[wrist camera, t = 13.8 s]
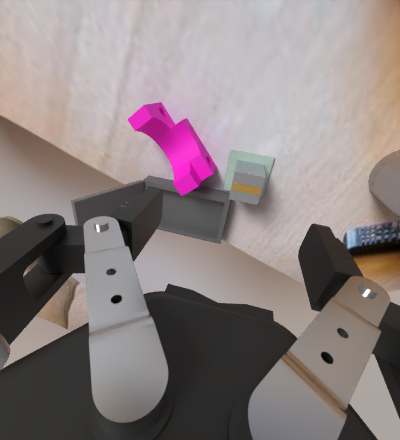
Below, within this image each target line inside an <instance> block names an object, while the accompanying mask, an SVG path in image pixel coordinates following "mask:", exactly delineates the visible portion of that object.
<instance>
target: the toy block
mask: <svg viewBox="0 0 400 440" xmlns="http://www.w3.org/2000/svg"><path fill="white" fill-rule="evenodd" d="M128 121H129V123H130V124H131V125H132V127H133V128H134V130H135V131H140V132H143V133H145V134H147V135H148V136H150V137H151V138H152V139H153V140H154V141H155V142H156V143H157V144H158V145H159V146H160V147H161V148H162V150H163V151H164V152H165V154H166V155H167V157H168V159H169V161H170V163H171V166H172V168H173V172H174V182H173V185H174V186H175V188H176V189H177V190H178V192H179V193H180V195H181V196H183V195H184V194H186V193H188V192H190V191H192V190H193V189H195V188H197V187H198V186H199V185H200V183H201V181H202V180H204V179H205V178H207V177H209V176H211V175H212V174H213V173H214V171H215V169H216V165H215V163H214V162H213V160H212V158H211V157H210V155H209V154H208V152H207V150H206V149H205V147H204V145H203V144H202V142H201V141H200V139H199V137H198V136H197V134H196V132H195V131H194V129H193V127H192V126H191V124H190V123H189V121H188V119H187V118H186V119H184V120H182V121H180V122H179V123H178V124H176V125H175V123H174V122H173V120H172V119H171V117H170V116H169V114H168V112H167V111H166V109H165V108H164V106H163V105H162V103H161V102H160V103H154V104H148V105H144V106H142V107H141V108H140V109H139V110H138V111H137V112H136V113H134V114H133V115H132V116H131V117H130V118H129V119H128Z"/></svg>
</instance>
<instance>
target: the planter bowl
mask: <svg viewBox="0 0 400 440" xmlns="http://www.w3.org/2000/svg"><path fill="white" fill-rule="evenodd" d="M21 224H23V223H22V222H21V221H19V220H18V219H16V218H13V217H3V218H0V238H1V237H3V236H4V235H6V234H7V233H9V232H10V231H12V230H13V229H15V228H17V227H18V226H20V225H21Z"/></svg>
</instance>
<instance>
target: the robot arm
mask: <svg viewBox="0 0 400 440" xmlns="http://www.w3.org/2000/svg"><path fill="white" fill-rule="evenodd" d="M368 182H369V188H370V191H371V192H372V193H373V194H374V195H375V196H376V197H377V198H378V199H379V200H380V201H381V202H382V203H384V204H385V205H386V206H387V207H388V208H389V209H390V210H391V211H392V212H394V213H395V214H396V215H397V216H398V217H399V218H400V150H398V151H395V152H393V153H391V154H389V155H387V156H386V157H384V158H383V159H381V160H380V161H379V162H378V163H377V164H376V165H375V167H374V168H373V170H372V171H371V173H370V176H369V181H368ZM162 206H163V191H162V190H159V189H154V188H150V187H149V188H147V189H146V190H145V191H144V192H143V193H142V194H136V195H134V196H131V197H129V198H128V199H127V200H126V201H125V202H124V203H122V204H121V206H119V207H118V208H117V209H116V210H114V211H113V212H112V213H111V214H110V215H109V216H108V217H107V216H100V217H95V218H92V219H90V220H88V221H87V222H85V224H84V226H72V225H65V220H64V218H63V217H62V216H60V215H57V214H43V215H38V216H35V217H33V218H31V219H29V220H28V221H26V222H24V223H23V224H21V225H20V226H18V227H17V228H15V229H13V230H12V231H10V232H9V233H7V234H6V235H4V236H3V237H1V238H0V440H377V438H376V437H375V436H374V434H373V433H372V432H371V430H369V428H368V427H367V425H366V424H365V423H364V422H363V420H362V419H361V418H360V416H359V415H358V414H357V413H356V411H355V410H354V409H353V408H352V406H351V405H350V404H349V402H350V400H351V397H352V395H353V393H354V391H355V389H356V386H357V384H358V382H359V380H360V377H361V375H362V373H363V371H364V369H365V367H366V364H367V362H368V360H369V358H370V355H371V353H372V354H374V355H375V357H376V360H377V362H378V365H379V367H380V370H381V372H382V375H383V377H384V380H385V383H386V385H387V388H388V390H389V393H390V395H391V398H392V400H393V403H394V405H395V408H396V410H397V413H398V416H399V418H400V306H399V305H397V304H394V303H392V302H390V297H389V295H388V293H387V292H386V291H385V290H384V289H383V288H382V287H381V286H379V285H378V284H377V283H375V282H373V281H372V280H370V279H367V278H365V277H364V276H363V275H362V273H361V271H360V270H359V268H358V266H357V264H356V263H355V261H354V260H353V257H352V256H351V254H350V252H349V251H348V249H347V247H346V246H345V245H344V244H343V243H342V242H341V241H340V240H339V239H338V238H335V236H334V234H333V233H332V231H331V229H330V227H327V226H323V225H318V224H312V225H311V226H310V228H309V230H308V232H307V234H306V236H305V238H304V240H303V242H302V244H301V246H300V249H299V254H298V258H299V262H300V266H301V270H302V274H303V278H304V282H305V286H306V289H307V293H308V297H309V301H310V305H311V308H312V310H316V311H320V313H319V314H318V315H317V316H316V318H315V319H314V320H313V321H312V323H311V324H310V325H309V326H308V327H307V329H306V330H305V331H304V332H303V333H302V335H301V336H300V337H299V338H298V339H297V338H296V337H295V336H294V335H293V334H292V333H291V332H290V331H289V330H287V329H286V328H285V327H283V326H282V325H280V324H279V323H277V322H275V321H274V319H273V311H270V310H266V309H262V308H258V307H254V306H251V305H247V304H227V303H217V302H215V301H213V300H211V299H209V298H207V297H205V296H203V295H201V294H199V293H197V292H195V291H193V290H190V289H186V288H182V287H178V286H174V285H171V284H168V286H167V288H166V290H165V291H159V292H151V293H146V294H143V292H142V289H141V286H140V283H139V279H138V276H137V273H136V270H135V266H134V263H133V262H134V261H135V259H136V258H137V256H138V255H139V253H140V252H141V251H142V249H143V248H144V246H145V245H146V243H147V242H148V240H149V239H150V238H151V236H152V235H153V233H154V232H155V230H156V229H157V227H158V226H159V224H160V222H161V218H162ZM35 260H37V263H38V264H37V265H36V266H35V267H34V268H33V269H31V270H30V271H29V272H28V273H27V274H26V275H25V276H24V277H23V274H24V272H25V270H26V268H27V267H28V266H29V265H30V264H32V263H33V262H34V261H35ZM73 273H85V275H86V290H87V305H88V319H89V322H88V323H86V324H85V325H83V326H81V327H79V328H77V329H75V330H73V331H71V332H70V333H68V334H66V335H64V336H62V337H60V338H58V339H57V340H55V341H53V342H51V343H49V344H47V345H45V346H43V347H42V348H40V349H38V350H36V351H34V352H33V353H30V354H29V355H27V356H25V357H23V358H21V359H19V360H17V361H15V362H14V363H12V364H10V365H8V366H7V367H5V368H3V366H4V365H5V363H6V362H7V359H8V358H9V355H10V346H9V345H10V344H11V343H12V342H13V341H14V340H15V338H16V337H17V336H18V335H19V334H20V333H21V332H22V331H23V329H24V328H25V327H26V326H27V325H28V324H29V322H30V321H31V320H32V319H33V318H34V317H35V316H36V315H37V314H38V312H39V311H40V310H41V309H42V308H43V307H44V306H45V304H46V303H47V302H48V301H49V300H50V299H51V298H52V296H53V295H54V294H55V293H56V292H57V291H58V290H59V289H60V287H61V286H62V285H63V284H64V283H65V282H66V281H67V279H68V278H69V277H70V276H71V275H72V274H73ZM2 368H3V369H2Z"/></svg>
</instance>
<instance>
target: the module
mask: <svg viewBox="0 0 400 440" xmlns="http://www.w3.org/2000/svg"><path fill="white" fill-rule="evenodd" d="M265 179H266V175H265V167H264V165H263V164H258V163H252V162H247V161H241V160H237V163H236V168H235V172H234V176H233V181H232V186H231V190H230V195H229V199H230V200H235V201H239V202H244V203H249V204H254V205H258V202H259V199H260V196H261V192H262V189H263V185H264V182H265Z"/></svg>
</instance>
